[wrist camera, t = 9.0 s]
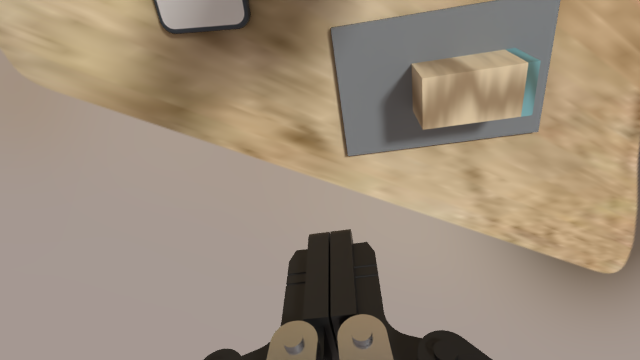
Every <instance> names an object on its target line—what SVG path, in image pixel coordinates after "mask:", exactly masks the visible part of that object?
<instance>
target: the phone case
mask: <svg viewBox="0 0 640 360" xmlns="http://www.w3.org/2000/svg"><path fill="white" fill-rule="evenodd" d="M154 3H155V6H156V9H157V13H158V16H159V20H160V22H161V24H162V26H163V27H164V28H165V29H166V30H167V31H168V32H170V33H174V34H181V33H193V32H206V31H218V30H231V29H240V28H243V27H244V26H245V25H246V24H247V23H248V22H249V19H250V8H249V2H248V0H154Z"/></svg>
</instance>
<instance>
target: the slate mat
mask: <svg viewBox="0 0 640 360" xmlns="http://www.w3.org/2000/svg"><path fill="white" fill-rule="evenodd" d="M559 5H560V0H495V1H489V2H483V3H477V4H471V5H465V6H459V7H453V8H447V9H441V10H435V11H429V12H423V13H417V14H411V15H405V16H399V17H393V18H387V19H381V20H375V21H369V22H363V23H357V24H351V25H345V26H339V27H333V28H331V34H332V41H333V48H334V56H335V63H336V71H337V78H338V85H339V93H340V100H341V108H342V115H343V122H344V130H345V137H346V145H347V152H348V156H353V155H361V154H369V153H377V152H384V151H392V150H400V149H408V148H415V147H423V146H431V145H439V144H446V143H454V142H462V141H470V140H477V139H485V138H493V137H501V136H508V135H516V134H524V133H532V132H538V130H539V124H540V118H541V112H542V106H543V100H544V94H545V88H546V82H547V76H548V70H549V64H550V58H551V52H552V47H553V41H554V35H555V29H556V23H557V17H558V11H559ZM512 48H517V49H519V50H521V51H523V52H524V53H526V54H528V55H530V56H532V57H534V58H536V59H538V60H540V61H541V62H540V69H539V75H538V81H537V88H536V94H535V101H534V107H533V114H532V115H530V116H522V117H515V118H507V119H500V120H493V121H485V122H478V123H470V124H463V125H455V126H448V127H440V128H433V129H425V130H423V129H422V127H421V125H420V123H419V122H418V120H417V118H416V116H415V114H414V112H413V100H412V64H413V63H420V62H426V61H433V60H439V59H446V58H453V57H459V56H466V55H472V54H479V53H485V52H492V51H498V50H505V49H512Z"/></svg>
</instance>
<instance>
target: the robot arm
mask: <svg viewBox="0 0 640 360" xmlns="http://www.w3.org/2000/svg"><path fill="white" fill-rule="evenodd" d="M286 284H287V286H286V292H285V299H284V307H283V314H282V322H281V327H280V328H279V329H278V330H277V331H276V332H275V333H274V335H273V337H272V339H271V342H269V343H268V344H267V345H265V346H264V347H262V348H260V349H258V350H255V351H253V352H250V353H248V354H246V355H243V356H241V355H240V354H239V353H238V352H236V351H235V350H232V349H221V350H218V351H215V352H213V353H212V354H210V355H208V356H207V357H206V358H205V359H204V360H492V359H491V358H489V357H488V356H487V355H485V354H484V353H482V352H481V351H480V350H479V349H477V348H476V347H474V346H473V345H472V344H470V343H469V342H468V341H466V340H465V339H464V338H462V337H461V336H459V335H457V334H455V333H453V332H449V331H443V330H441V331H434V332H431V333H429V334H427V335H425V336H424V337H423V338H417V337H413V336H409V335H405V334H402V333H400V332H398V331H397V330H395V329H394V328H392V327H391V326H390V324H389V323H388V322H387V320H386V318H385V315H384V310H383V304H382V297H381V291H380V284H379V277H378V271H377V264H376V257H375V252H374V250H373V249H372V248H371V247H370V245H369V244H368V243H367V242H364V243H356V244H353V239H352V233H351V229H349V230H341V231H333V232H331V233H329V232H326V233H317V234H310V235H309V239H308V249H306V250H297V251H296V252H295V254H294V255H293V257H292V258H291V260H290V262H289V268H288V276H287V283H286Z"/></svg>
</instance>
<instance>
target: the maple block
mask: <svg viewBox="0 0 640 360" xmlns="http://www.w3.org/2000/svg"><path fill="white" fill-rule="evenodd" d="M540 62H541V61H540V60H538V59H536V58H534V57H532V56H530V55H528V54H526V53H524V52H523V51H521V50H519V49H517V48H512V49H505V50H498V51H492V52H485V53H479V54H472V55H466V56H459V57H453V58H446V59H439V60H433V61H426V62H420V63H413V64H412V100H413V112H414V114H415V116H416V118H417V120H418V122H419V123H420V125H421V127H422V129H423V130H425V129H433V128H440V127H448V126H455V125H463V124H470V123H478V122H485V121H493V120H500V119H507V118H515V117H522V116H530V115H532V114H533V107H534V101H535V94H536V88H537V81H538V75H539V69H540Z"/></svg>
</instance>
